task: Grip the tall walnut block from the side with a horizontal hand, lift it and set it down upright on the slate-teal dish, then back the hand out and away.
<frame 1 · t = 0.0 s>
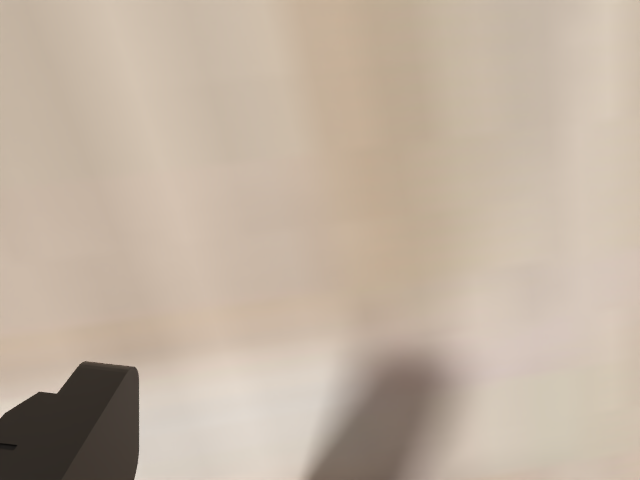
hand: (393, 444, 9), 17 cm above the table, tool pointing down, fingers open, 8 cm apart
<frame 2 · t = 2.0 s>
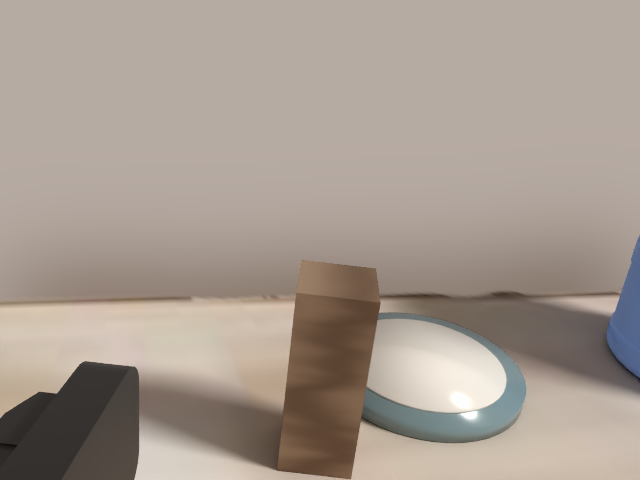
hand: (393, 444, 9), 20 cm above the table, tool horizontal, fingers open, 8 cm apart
walnut block: (315, 448, 37), on the table
teal dish: (419, 373, 46), on the table
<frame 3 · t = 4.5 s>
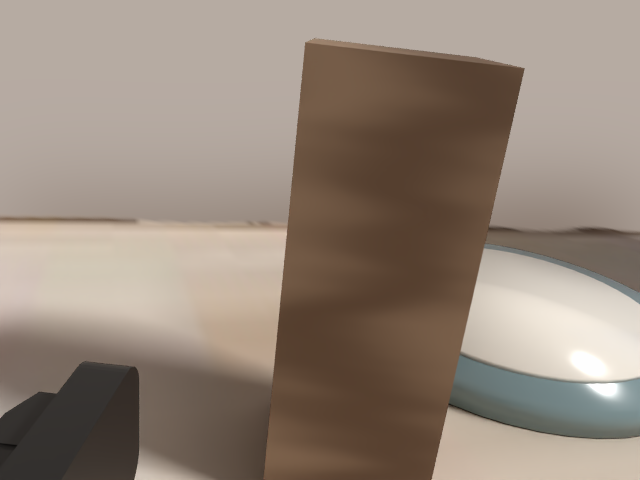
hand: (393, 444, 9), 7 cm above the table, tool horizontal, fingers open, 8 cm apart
walnut block: (342, 451, 18), on the table
teal dish: (507, 324, 27), on the table
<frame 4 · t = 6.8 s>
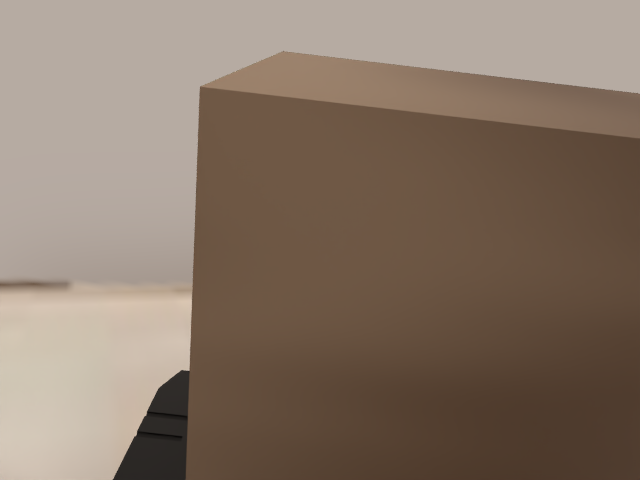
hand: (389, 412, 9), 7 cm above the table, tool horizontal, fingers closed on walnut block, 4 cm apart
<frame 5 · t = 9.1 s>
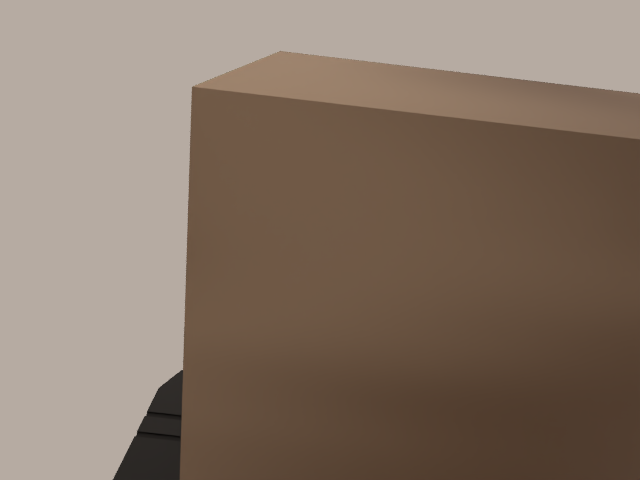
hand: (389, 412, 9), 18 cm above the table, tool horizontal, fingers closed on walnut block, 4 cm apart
when the fingers open (9 cm above the table, at t = 11.5 s): walnut block drops 1 cm, resting on teal dish.
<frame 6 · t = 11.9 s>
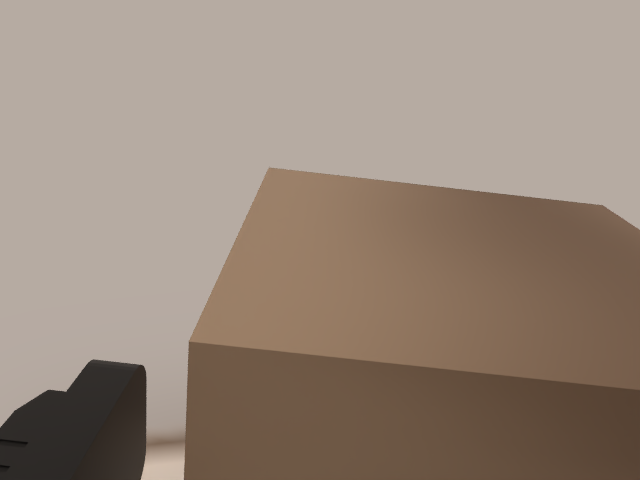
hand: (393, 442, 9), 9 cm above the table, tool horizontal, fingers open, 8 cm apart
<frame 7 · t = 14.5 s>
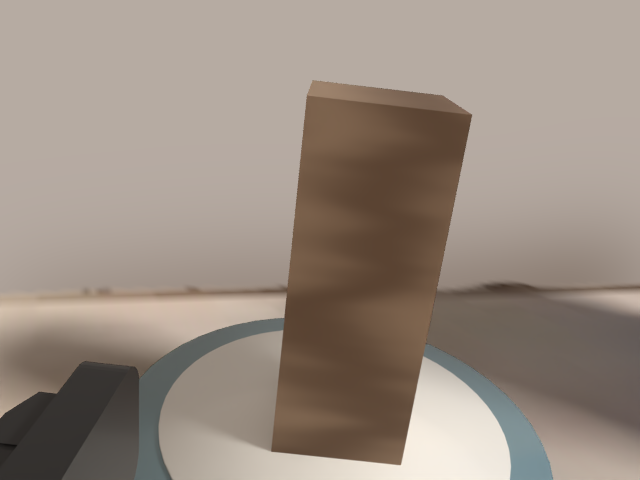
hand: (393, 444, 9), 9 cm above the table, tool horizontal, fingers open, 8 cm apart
walnut block: (335, 416, 22), point 1 cm above the table, touching teal dish
teal dish: (331, 445, 22), on the table
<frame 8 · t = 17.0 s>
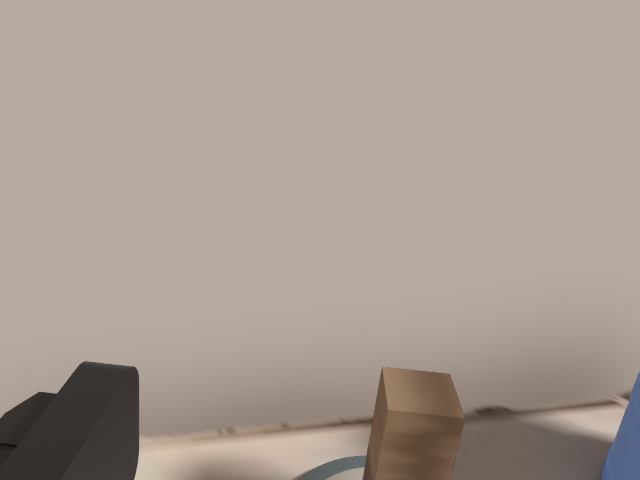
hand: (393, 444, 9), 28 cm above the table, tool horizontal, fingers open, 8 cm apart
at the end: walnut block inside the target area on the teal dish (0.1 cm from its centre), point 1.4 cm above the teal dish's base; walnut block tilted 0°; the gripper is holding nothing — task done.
